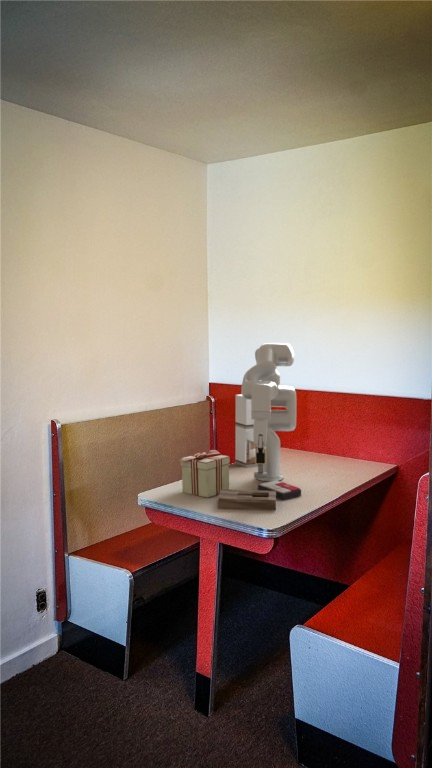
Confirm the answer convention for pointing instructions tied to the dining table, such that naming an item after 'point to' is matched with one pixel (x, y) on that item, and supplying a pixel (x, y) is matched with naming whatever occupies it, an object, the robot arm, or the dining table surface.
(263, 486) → the calculator
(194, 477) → the gift box
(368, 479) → the dining table surface
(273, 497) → the keyhole board
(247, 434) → the white slotted tower
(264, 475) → the peg
